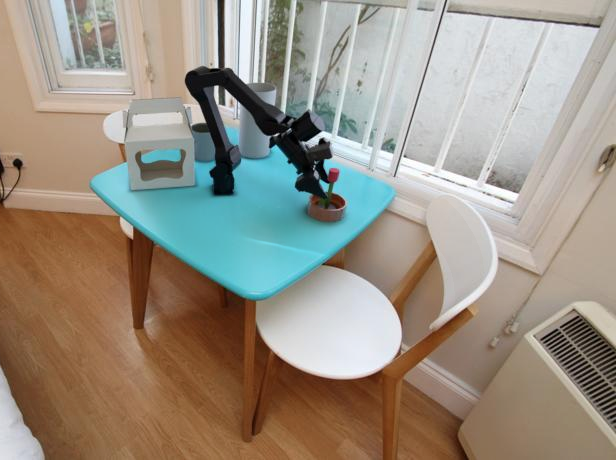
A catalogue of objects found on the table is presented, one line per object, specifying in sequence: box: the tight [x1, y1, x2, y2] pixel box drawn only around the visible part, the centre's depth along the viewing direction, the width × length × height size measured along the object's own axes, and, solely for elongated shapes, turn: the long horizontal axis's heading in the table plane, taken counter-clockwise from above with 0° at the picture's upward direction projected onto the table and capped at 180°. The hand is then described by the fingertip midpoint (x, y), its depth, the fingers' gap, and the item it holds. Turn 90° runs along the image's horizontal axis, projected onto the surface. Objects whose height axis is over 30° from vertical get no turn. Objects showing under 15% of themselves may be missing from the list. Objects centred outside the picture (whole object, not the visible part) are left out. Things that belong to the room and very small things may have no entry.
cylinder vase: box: [237, 82, 277, 160], centre depth 141 cm, size 12×12×25 cm
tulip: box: [317, 167, 341, 210], centre depth 109 cm, size 6×6×14 cm
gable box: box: [122, 96, 196, 191], centre depth 124 cm, size 22×13×28 cm, turn 96°
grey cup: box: [191, 122, 215, 163], centre depth 143 cm, size 10×10×12 cm
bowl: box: [306, 190, 348, 223], centre depth 112 cm, size 11×11×4 cm
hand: (328, 190), depth 109 cm, fingers open, 9 cm apart
